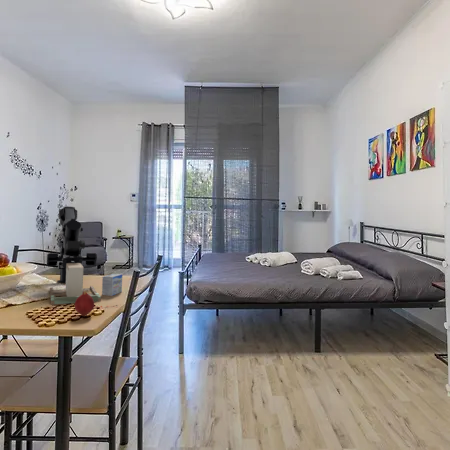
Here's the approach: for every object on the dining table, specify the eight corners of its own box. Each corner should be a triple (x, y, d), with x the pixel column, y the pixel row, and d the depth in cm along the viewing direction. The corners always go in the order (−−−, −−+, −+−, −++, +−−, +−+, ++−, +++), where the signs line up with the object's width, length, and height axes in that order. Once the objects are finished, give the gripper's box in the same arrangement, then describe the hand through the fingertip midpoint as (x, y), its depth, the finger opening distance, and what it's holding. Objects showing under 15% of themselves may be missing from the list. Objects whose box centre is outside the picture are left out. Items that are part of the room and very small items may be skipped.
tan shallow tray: (49, 293, 139) (49, 285, 139) (92, 291, 146) (92, 283, 146) (50, 308, 118) (51, 298, 118) (100, 305, 126) (101, 295, 126)
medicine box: (111, 299, 135) (112, 277, 134) (101, 298, 135) (102, 276, 135) (121, 295, 142) (122, 274, 142) (111, 294, 143) (112, 273, 143)
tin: (65, 291, 138) (66, 263, 138) (79, 290, 140) (80, 263, 140) (67, 298, 127) (68, 267, 127) (82, 297, 130) (83, 267, 130)
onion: (77, 313, 115) (78, 289, 114) (95, 313, 115) (96, 289, 115) (71, 318, 109) (72, 292, 109) (90, 318, 109) (91, 293, 109)
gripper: (48, 232, 139) (47, 264, 130) (97, 233, 148) (100, 263, 139) (46, 250, 146) (46, 281, 137) (94, 250, 155) (96, 279, 146)
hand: (72, 276), depth 139 cm, fingers closed, pressing on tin
